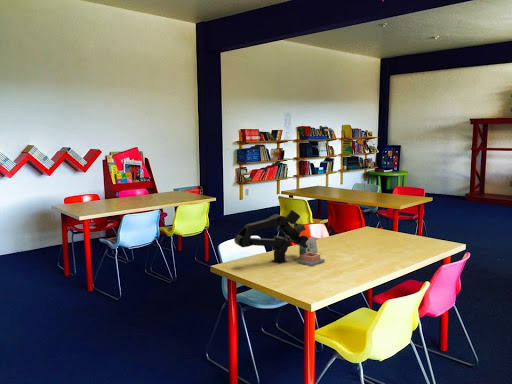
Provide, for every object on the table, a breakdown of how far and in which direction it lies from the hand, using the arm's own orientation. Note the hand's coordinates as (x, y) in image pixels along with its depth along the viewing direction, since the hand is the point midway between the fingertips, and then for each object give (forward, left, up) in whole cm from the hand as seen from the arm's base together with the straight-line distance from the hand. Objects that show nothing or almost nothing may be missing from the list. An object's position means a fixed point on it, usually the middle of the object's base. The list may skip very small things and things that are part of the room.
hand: (304, 246), depth 262 cm
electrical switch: (+11, +5, -7) cm, 14 cm away
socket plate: (-5, -9, -7) cm, 12 cm away
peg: (-1, 0, -7) cm, 7 cm away
